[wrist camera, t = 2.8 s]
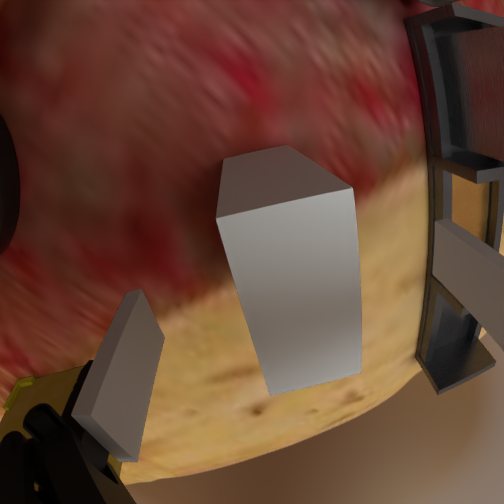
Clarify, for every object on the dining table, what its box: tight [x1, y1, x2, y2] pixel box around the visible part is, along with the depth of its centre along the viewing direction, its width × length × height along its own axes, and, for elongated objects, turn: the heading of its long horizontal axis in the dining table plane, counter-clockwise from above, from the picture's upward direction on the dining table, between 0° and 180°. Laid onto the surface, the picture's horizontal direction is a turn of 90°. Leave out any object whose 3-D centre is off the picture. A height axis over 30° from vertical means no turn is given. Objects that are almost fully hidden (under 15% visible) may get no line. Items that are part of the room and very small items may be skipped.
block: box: [216, 145, 362, 396], centre depth 15 cm, size 4×8×11 cm, turn 13°
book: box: [0, 365, 122, 492], centre depth 16 cm, size 17×7×25 cm, turn 113°
